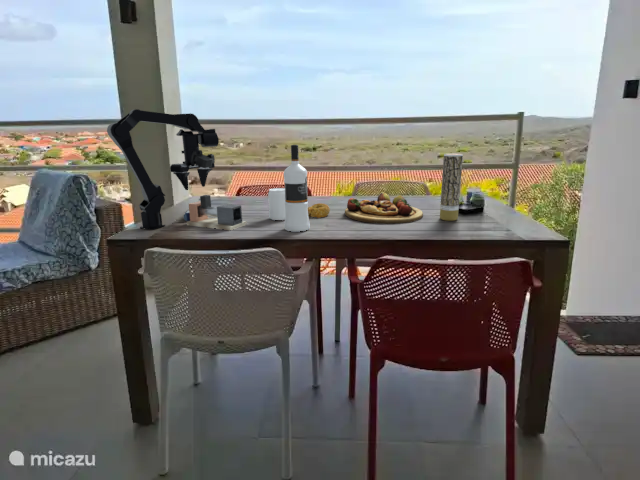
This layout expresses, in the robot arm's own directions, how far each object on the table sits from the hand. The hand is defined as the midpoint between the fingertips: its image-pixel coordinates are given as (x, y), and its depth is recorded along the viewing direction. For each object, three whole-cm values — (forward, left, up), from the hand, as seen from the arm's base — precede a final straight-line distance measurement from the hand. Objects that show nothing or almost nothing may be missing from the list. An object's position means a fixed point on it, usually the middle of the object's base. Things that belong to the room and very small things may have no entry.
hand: (195, 188), depth 161 cm
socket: (-3, -3, -12) cm, 13 cm away
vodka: (+3, -44, -13) cm, 46 cm away
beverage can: (+15, -29, -13) cm, 35 cm away
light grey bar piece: (+9, +8, -14) cm, 18 cm away
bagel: (+27, -40, -14) cm, 50 cm away
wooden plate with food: (+38, -65, -14) cm, 77 cm away
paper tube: (+40, -91, -13) cm, 100 cm away
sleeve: (-3, -18, -12) cm, 22 cm away
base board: (-3, -12, -13) cm, 18 cm away
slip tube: (-3, -10, -10) cm, 14 cm away
